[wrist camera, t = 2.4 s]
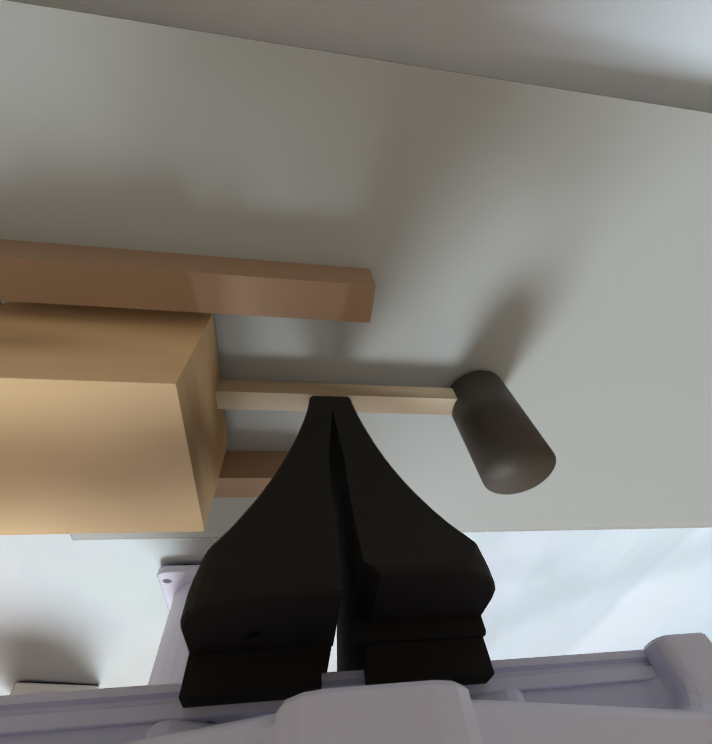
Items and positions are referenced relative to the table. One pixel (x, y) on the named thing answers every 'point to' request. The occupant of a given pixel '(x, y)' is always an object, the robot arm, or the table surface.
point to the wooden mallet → (180, 419)
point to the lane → (379, 251)
